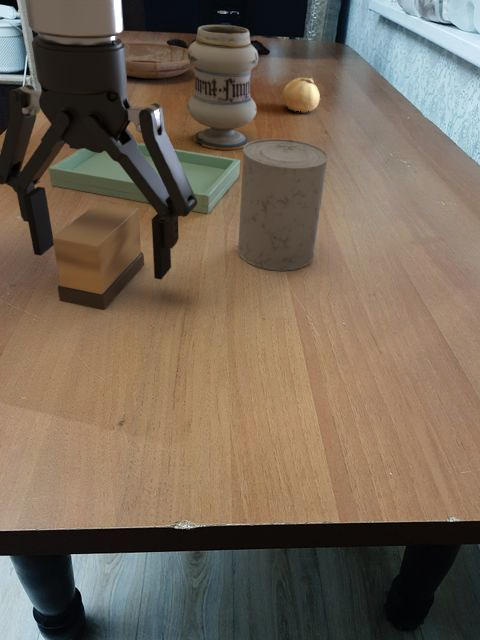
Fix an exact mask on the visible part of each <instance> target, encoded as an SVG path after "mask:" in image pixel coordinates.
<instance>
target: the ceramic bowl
mask: <svg viewBox="0 0 480 640" xmlns="http://www.w3.org/2000/svg"><path fill="white" fill-rule="evenodd" d="M122 43H123V44H124V45H125V58H126V73H127V76H128V77H132V78H139V79H165V78H172V77H176V76H179V75H182V74H183V73H185V72H187V71H188V70H190V69H192V67H193V66H194V65H193V64H191V62H190V61H189V59H188V49H189V48H185V47H181V46H178V45H171V44H164V43H152V42H122Z"/></svg>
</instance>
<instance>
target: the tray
mask: <svg viewBox="0 0 480 640" xmlns="http://www.w3.org/2000/svg"><path fill="white" fill-rule="evenodd" d="M117 143H118V144H119V145H120V146H122V144H121V143H120V141H119V140H118V142H117ZM137 144H138V148H139V150H140V151H141V152H142V154H143V155H144V156H145V158H146V159H147V160H148V162H149V163H150V164H151V166H152V167H153V168H154V170H155V171H156V172H157V174H158V175H159V173H158V171H157V169H156V167H155V165H154V163H153V161H152V158H151V156H150V154H149V152H148V150H147V148H146V146H145V143H141V142H137ZM173 149H174V151H175V153H176V155H177V157H178V160H179V162H180V164H181V166H182V168H183V171H184V173H185V175H186V177H187V179H188V182H189V184H190V186H191V188H192V190H193V193H194V195H195V197H196V199H197V205H196V206H195V208H194V209H193V210H192V211H191V212H195V213H202V214H209V213H211V211H212V210H213V209H214V208H215V206H216V205H217V204H218V202H219V201H220V200H221V199H222V198H223V196H224V195H225V194H226V193H227V191H228V190H229V189H230V188H231V187H232V186H233V184H234V183H235V182H236V181H237V179H239V177H240V170H241V169H240V168H241V160H240V159H237V158H230V157H225V156H219V155H213V154H207V153H201V152H196V151H195V152H194V151H189V150H182V149H177V148H173ZM48 173H49V180H50V185H51V187H56V188H57V187H58V188H63V189H68V190H74V191H78V192H79V191H80V192H84V193H85V192H86V193H91V194H97V195H102V196H107V197H113V198H119V199H124V200H128V201H129V200H130V201H135V202H141V203H146V204H150V203H149V202H148V200H147V199H146V198H145V196H144V195H143V194H142V193H141V191H140V190H139V189H138V187H137V186H136V185H135V184H134V182H133V181H132V180H131V178H130V177H129V176H128V174H127V173H126V172H125V171H124V169H123V168H122V167H121V165H120V164H119V163H118V162H116V161H114V160H112V158H111V157H110V156H109V155H108V153H107V152H106V151H103V152H102V153H96V152H92V151H90V150H87V149H85V148H84V149H77V150H76V151H74V152H73V153H72V154H69V155H67V156H66V157H64V158H62V159H61V160H59V161H57V162H56V163H54V164H53V165H50V166H49V167H48ZM159 176H160V175H159ZM160 178H161V177H160Z"/></svg>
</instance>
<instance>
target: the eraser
mask: <svg viewBox="0 0 480 640" xmlns="http://www.w3.org/2000/svg"><path fill="white" fill-rule="evenodd" d="M139 209H140V208H139V207H134V206H129V205H124V204H123V205H122V204H117V203H112V202H106V201H99V200H98V201H97V202H96V203H95V204H94V205H93V206H91V207H90V208H89V209H87V210H86V211H85V212H84V213H82V214H81V215H79V216H78V217H77V218H76V219H75V220H73V221H72V222H70V223H69V224H68V225H67V226H66V227H65V228H63V229H62V230H61V231H59V232H58V233H57V234H56V235H54V236H53V243H54V246H53V248H54V249H53V250H54V255H55V263H56V268H57V274H58V280H59V281H58V282H59V285H57V292H58V299H59V301H62V302H67V303H72V304H77V305H80V306H86V307H90V308H95V309H100V310H106V309H107V307H108V306H109V305H110V304H111V303H112V302H113V301H114V299H116V297H117V296H118V295H119V294H120V293H121V291H123V289H124V288H125V287H126V286H127V285H128V284H129V283H130V281H131V280H132V279H133V278H134V277H135V276H136V275H137V274H138V273H139V272H140V270H142V268H143V267H144V266H145V254H144V252H142V247H141V244H142V243H141V227H140V211H139Z"/></svg>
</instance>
